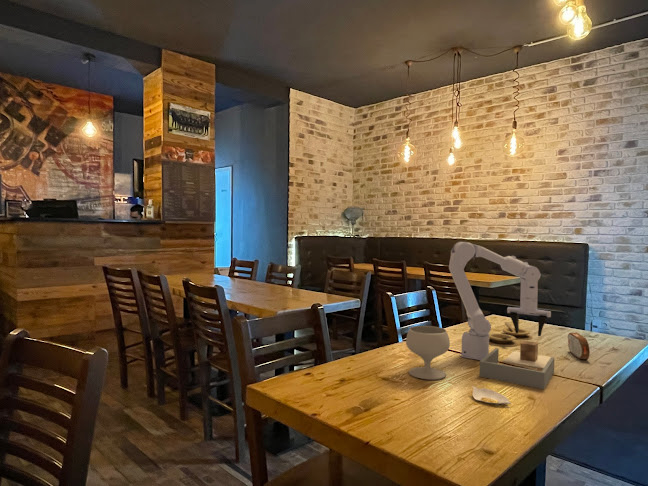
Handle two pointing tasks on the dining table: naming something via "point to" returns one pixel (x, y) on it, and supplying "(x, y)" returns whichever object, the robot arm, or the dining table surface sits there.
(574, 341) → the tin
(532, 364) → the mat
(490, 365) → the open box
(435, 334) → the chalice
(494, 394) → the pale veined leaf
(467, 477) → the dining table surface
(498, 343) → the tableware set
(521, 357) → the walnut block
